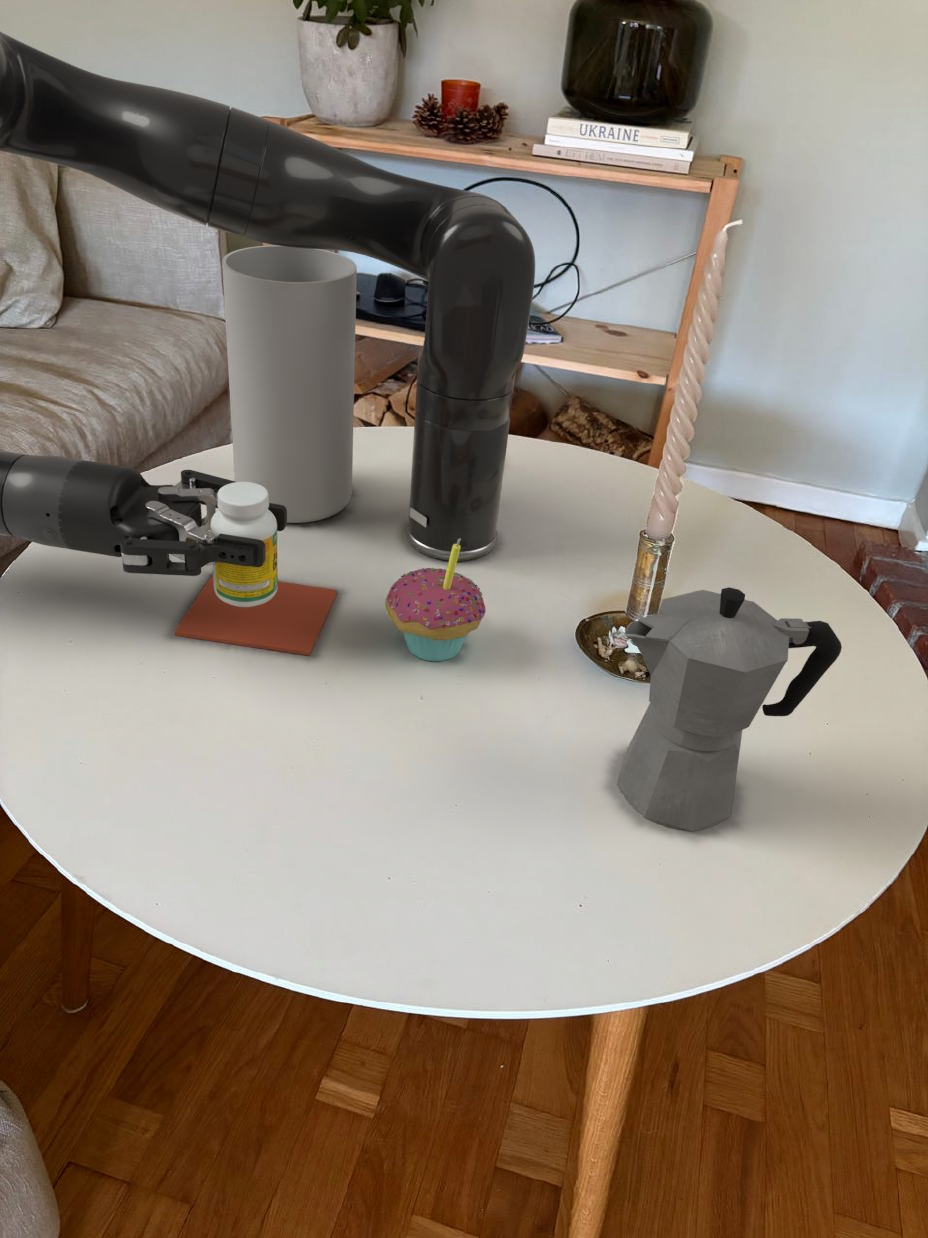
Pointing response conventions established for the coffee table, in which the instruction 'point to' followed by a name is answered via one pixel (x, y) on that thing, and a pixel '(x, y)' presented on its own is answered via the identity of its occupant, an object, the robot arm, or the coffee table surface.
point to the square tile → (262, 619)
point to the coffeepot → (709, 699)
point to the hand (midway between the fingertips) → (274, 535)
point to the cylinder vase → (292, 374)
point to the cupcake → (435, 609)
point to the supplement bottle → (251, 519)
